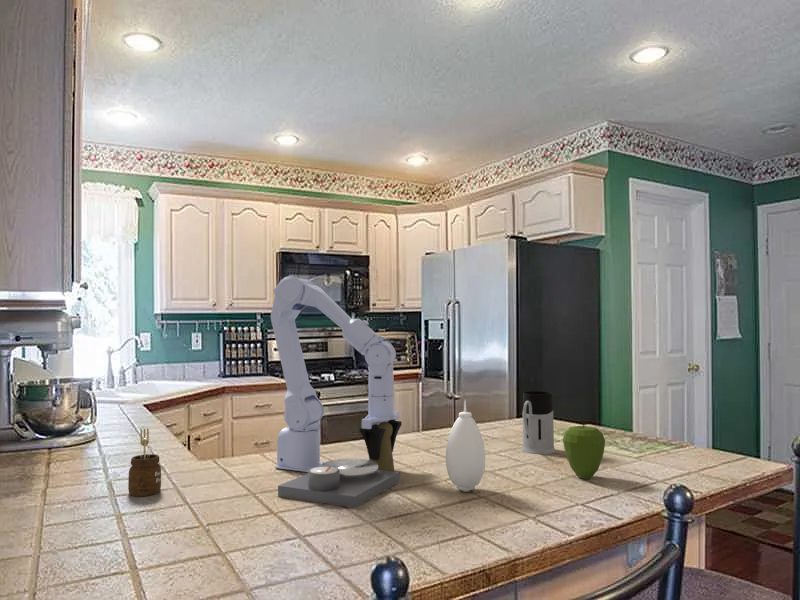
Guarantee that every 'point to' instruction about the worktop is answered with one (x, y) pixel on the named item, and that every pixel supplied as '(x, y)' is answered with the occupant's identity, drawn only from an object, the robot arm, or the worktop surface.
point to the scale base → (337, 486)
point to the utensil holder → (144, 472)
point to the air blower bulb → (465, 453)
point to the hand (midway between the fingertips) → (381, 456)
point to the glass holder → (538, 423)
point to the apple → (584, 450)
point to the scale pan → (353, 467)
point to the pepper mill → (385, 449)
